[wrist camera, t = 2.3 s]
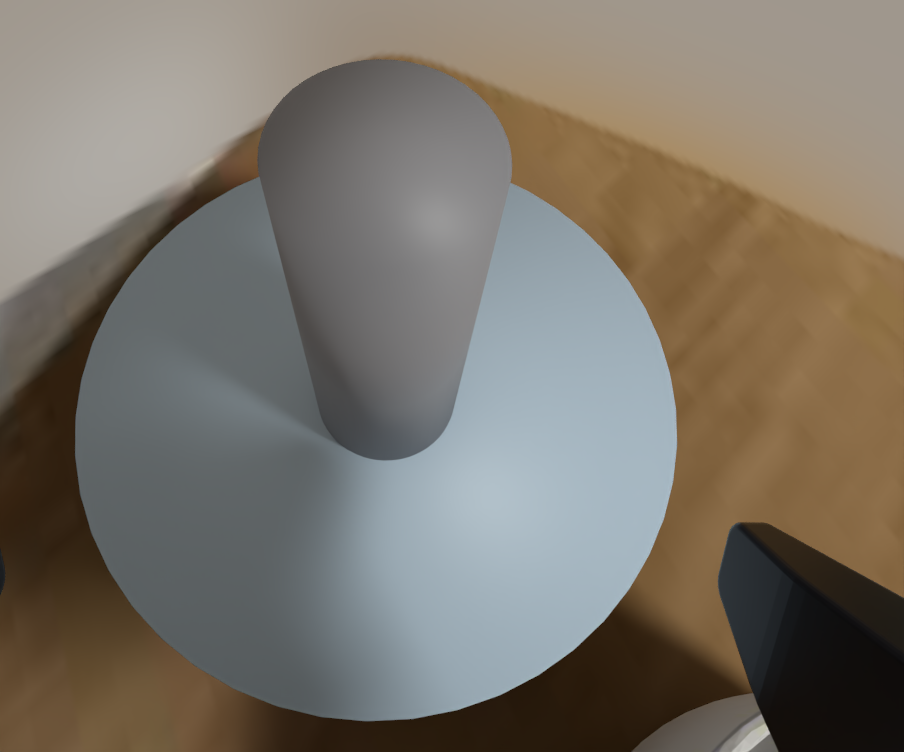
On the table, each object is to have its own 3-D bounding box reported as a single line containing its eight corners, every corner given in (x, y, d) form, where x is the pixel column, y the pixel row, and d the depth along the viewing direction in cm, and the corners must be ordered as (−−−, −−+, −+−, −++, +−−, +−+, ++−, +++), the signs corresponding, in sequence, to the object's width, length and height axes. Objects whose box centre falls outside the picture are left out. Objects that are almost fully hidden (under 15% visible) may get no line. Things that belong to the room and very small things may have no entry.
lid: (293, 873, 13) (142, 1194, 5) (-8, 340, 17) (-392, 16, 9) (774, 477, 17) (1136, 291, 9) (448, 105, 21) (490, -282, 12)
